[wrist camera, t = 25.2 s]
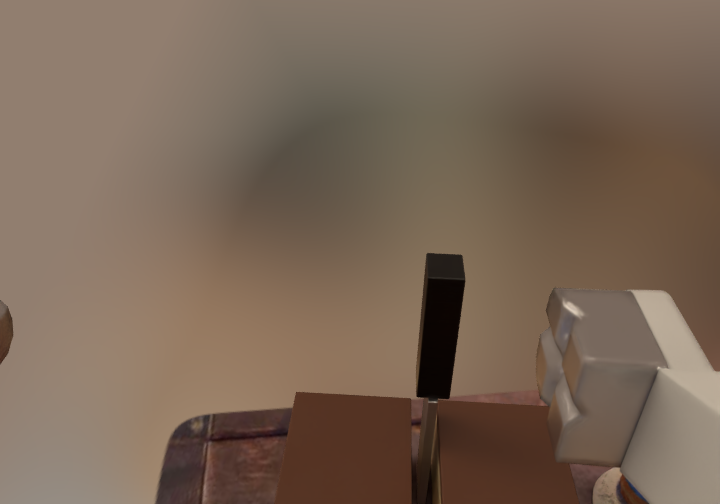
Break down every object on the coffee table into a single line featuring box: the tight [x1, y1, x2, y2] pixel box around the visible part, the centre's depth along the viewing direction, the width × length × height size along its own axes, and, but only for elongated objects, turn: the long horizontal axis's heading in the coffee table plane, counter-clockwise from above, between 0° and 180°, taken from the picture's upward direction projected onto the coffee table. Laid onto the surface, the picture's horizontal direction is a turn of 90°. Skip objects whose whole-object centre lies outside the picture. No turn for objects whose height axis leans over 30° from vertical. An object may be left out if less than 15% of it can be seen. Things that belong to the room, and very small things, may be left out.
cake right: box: [431, 400, 579, 504], centre depth 41 cm, size 8×9×6 cm
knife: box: [416, 253, 465, 504], centre depth 40 cm, size 2×3×19 cm, turn 176°
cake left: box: [274, 392, 412, 504], centre depth 42 cm, size 8×9×6 cm
